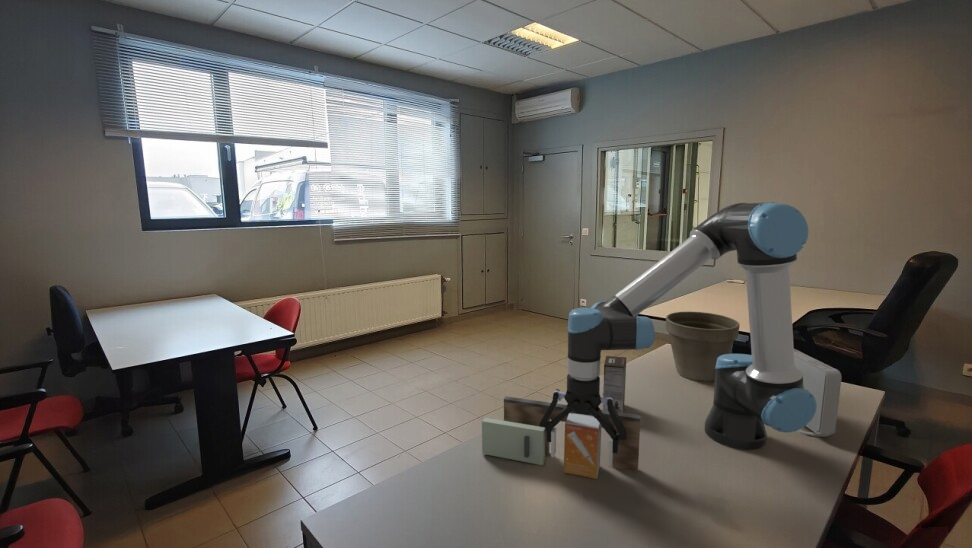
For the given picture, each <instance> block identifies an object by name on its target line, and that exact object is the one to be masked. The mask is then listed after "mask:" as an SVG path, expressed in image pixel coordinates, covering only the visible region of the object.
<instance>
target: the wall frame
mask: <svg viewBox="0 0 972 548" xmlns="http://www.w3.org/2000/svg"><path fill="white" fill-rule="evenodd" d="M550 404H551V402H549V401H542V400H541V401H540V400H535V399H533V400H532V399H527V398H519V397H513V396H504V398H503V421H508V422H514V423H521V424H527V425H533V426H539V427H540V425H539V424H540V422H541V420H542V418H543V416H544V414H545V413H546V411H547V409H548V407H549V406H550ZM566 405H567V404H562V403H557V404H556V406H555V408H554V410H553V411H552V413H551V415H550V417H549V418H548V420H547V421H551V420H552V419H553V418H554V417H555V416H556V415H557V414H558V413H559V412H560V411H561V410H562V409H563V408H564V407H566ZM601 412H602V413H603V414H604V416H605V417H606V418H607V419H608V421H609V422H610V423H611V424H612V426H613V427H614V428H615V430H616V431H617V429H616V427H615V425H614V422H613V420H612V418H611V416H610V414H609V412H608V411H605V410H603V409H601ZM571 413H575V412H574V411H573V410H572V411H571ZM617 413H618V415H619V417H620V419H621V421H622V423H623V426H624V428H625V430H626V432H627V436H626V440H619V441H618V452H617V454H616V453H613V462H612V468H613V469H619V470H624V471H631V472H635V473H636V472H637V473H638V472H639V459H640V458H639V457H640V437H641V435H640V433H641V415H640V414H634V413H625V412H624V413H619V412H617ZM580 414H583V413H580ZM568 415H569V414H568ZM568 415H566V416H565V417H564V418H563V419H562V420H561V421H560V422H562V423H563V422H564V423H565V422H566V420H567V417H568ZM589 415H591V416H593V415H592V414H589ZM601 429H604V428H603V427H602V426H601ZM617 432H618V431H617ZM550 449H551V442H547V429H546V428H545V456H547V457H548V456H549V455H550Z"/></svg>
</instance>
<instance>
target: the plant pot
mask: <svg viewBox="0 0 972 548" xmlns="http://www.w3.org/2000/svg"><path fill="white" fill-rule="evenodd" d="M665 329H666V331H667V332H668V337H669V342H670V347H671V352H672V356H673V359H674V365H675V368H676V372H677V374H678V375H679V376H681V377H683V378H685V379H688V380H691V381H692V380H693V381H697V382H715V372H716V369H715V367H716V362H717V358H718V357H719V356H721V355H724V354H730V352H731V350H732V347H733V344H734V341H735V340H737V339H738V336H739V333H740V332H739V331H740V322H739V321H738V320H736V319H734V318H731V317H728V316H725V315H721V314H717V313H711V312H704V311H702V312H701V311H677V312H675V311H674V312H672V313H669V314H667V315H666V316H665Z"/></svg>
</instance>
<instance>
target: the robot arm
mask: <svg viewBox="0 0 972 548" xmlns="http://www.w3.org/2000/svg"><path fill="white" fill-rule="evenodd" d="M808 239H809V225H808V222H807V219H806V218H805V216H804V215H803V213H802V212H801V211H800V210H798V209H797V208H795V206H793V205H790V204H787V203H779V202H774V201H769V202H737V203H734V204H731V205H730V204H729V205H727V206H726V207H723V208H721V209H720V210H718V211H716V212H715V213H714V214H712V215H710V216H709V217H708V218H706V219H705V220H703V221H701V223H700V224H698V225H697V226H696V227H694V228H692V230H690V232H689V237H688V238H686V240H684V241H683V242H681V243H680V244H679V245H677V246H676V247H675V248H673V250H671V251H669V253H667V254H666V255H665V256H663V257H662V258H661V259H660V260H657V262H656V263H654V264H653V265H652V266H651V267H649V268H648V269H646V271H644V272H643V273H642V274H640V275H639V276H638V277H636V278H635V279H634V280H633V281H632V282H630V283H629V284H628V285H626V286H625V287H624V288H621V290H619V291H618V292H617V293H616V294H614V295H613V296H612V297H610V298H609V299H607V300H606V301H598V302H595V303H594V304H593V305H592V306H591V307H590V308H589V307H577V308H573V309H572V310H571V311H569V314H568V320H567V329H566V330H567V356H566V357H567V358H566V360H567V361H566V363H567V364H566V372H567V375H566V391H565V392H564V391H560V389H559V388H555V390H554V392H553V394H552V399H551V402H550V403H551V404H550V406H549V407H548V409H547V411H546V413H545V414H544V416H543V418H542V420H541V422H540V424H539V425H540V427H544V428H546V429H547V442H550V457H551V458H554V457H555V456H556V452H557V425H558V424H559V423H560V422H562V421H561V420H562V419H563V418H564V417H565V416H566V415H568V414H569V413H570V412H571V411H572V410H573V411H574V412H575V413H578V414H580V413H583V414H585V415H589V414H592V415H593V416H594V418H596V419H597V420H598V422H599V423H600V424H601V425H602V427H603V428H602V429H604V431H605V432H606V433H607V434H608V436H609V442H608V463H607V464H608V468H610V469H612V468H613V467H612V462H613V453H616V454H617V452H618V441H619V440H626V436H627V432H626V430H625V428H624V426H623V423H622V421H621V419H620V417H619V415H618V413H617V411H616V409H615V406H614V400H613V397H612V396H609V397H608V398H603V397H602V396H601V391H600V385H601V377H600V375H601V358H602V357H601V353H602V351H623V350H625V351H626V350H629V351H630V350H636V351H637V350H642V349H643V350H645V349H649V348H651V347H652V346H653V344H654V342H655V339H656V338H655V337H656V331H655V325H654V322H653V321H652V319H650V317H647V316H639V315H640V314H641V313H642V312H643V311H644V310H646V309H647V308H649V307H650V306H651V305H652V304H653V303H655V302H656V301H658V299H661V298H662V297H663V296H665V294H667V293H669V291H671V290H672V289H673V288H675V287H677V285H678V284H680V283H682V282H683V281H684V280H685V279H687V278H688V277H689V276H690V275H692V274H693V273H694V272H695V271H697V270H698V269H700V268H701V267H702V266H704V265H705V264H706V263H707V262H709V261H710V260H714V261H715V260H719V259H720V258H721V257H722V256H724V255H725V254H727V253H730V252H732V251H733V252H734V251H736V258H737V264H738V265H739V266H740V268H741V267H742V268H743V269H744V271H745V278H746V279H745V280H746V292H747V294H746V295H747V309H748V324H749V336H750V338H749V339H750V348H751V349H750V350H751V354H747V353H746V354H745V353H729V354H724V355H721V356H719V357H718V358H717V362H716V367H715V369H716V372H715V381H714V390H713V403H712V406H711V409H710V410H709V413H708V414H707V416H706V419H705V422H704V432H705V434H706V435H707V436H708V437H709V438H711V439H712V440H713V441H714V442H717V443H719V444H722V445H724V446H727V447H731V448H735V449H739V450H740V449H741V450H757V449H758V450H759V449H761V448H763V447H765V446H766V444H767V437H768V436H767V431H766V427H765V426H767V427H770V428H772V429H774V430H775V431H777V432H780V433H793V432H797V430H802V429H803V428H805V427H807V426H806V425H807V423H808V422H810V421H811V420H812V418H813V417H814V415H815V412H816V408H817V403H816V399H815V397H814V396H813V395H812V394H811V393H810V392H809V391H808V390H806V389H804V385H803V373H802V371H801V370H800V369H798V368H797V367H796V366H795V364H794V349H795V348H794V334H793V333H794V332H793V331H794V330H793V312H792V299H791V297H792V295H791V294H792V293H791V280H790V279H791V278H790V276H791V275H790V268H791V266H793V265H794V264H795V263H796V262H797V260H798V255H797V254H798V253H799V252H801V251H802V250H803V248H804V245H805V244H806V243H807V241H808ZM562 399H564V400H565V401H566V403H567V404H565V405H566V407H564V408H563V409H562V410H561V411H560V412H559V413H558V414H557V415H556V416H555V417H554V418H553V419H552V420H550V421H547V420H548V418H549V417H550V415H551V413H552V411H553V410H554V408H555V406H556V404H558V402H561V401H562ZM601 404H602V405H603V404H604V406H605V407H606V408H608V412H609V414H610V416H611V418H612V420H613V422H614V425H615V427H616V429H617V431H618V432H617V431H616V430H615V428H614V427H613V426H612V424H611V423H610V422H609V421H608V419H607V418H606V417H605V416H604V414H603V413H602V412H601V410H602V409H601V408H600V405H601Z"/></svg>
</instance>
